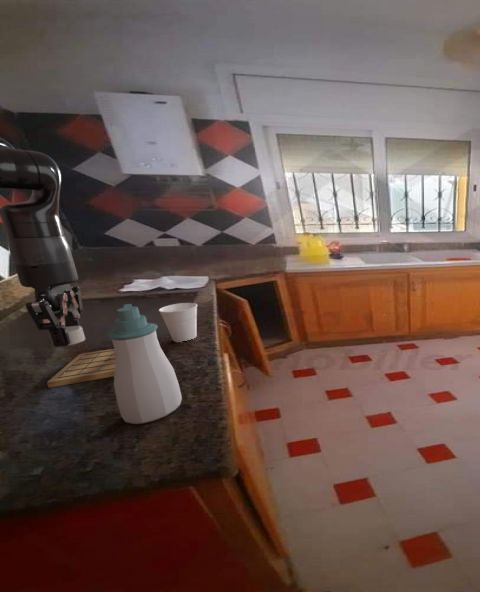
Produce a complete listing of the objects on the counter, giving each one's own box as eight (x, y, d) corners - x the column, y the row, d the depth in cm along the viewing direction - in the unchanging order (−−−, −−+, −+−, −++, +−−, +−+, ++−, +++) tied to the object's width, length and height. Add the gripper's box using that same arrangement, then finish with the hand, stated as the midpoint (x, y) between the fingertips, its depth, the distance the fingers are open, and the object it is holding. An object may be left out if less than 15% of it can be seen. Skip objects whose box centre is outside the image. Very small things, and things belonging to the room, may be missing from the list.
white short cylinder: (47, 348, 63) (43, 335, 62) (60, 339, 67) (56, 327, 66) (79, 344, 65) (75, 331, 64) (89, 336, 69) (86, 324, 68)
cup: (171, 335, 105) (164, 304, 102) (206, 331, 109) (200, 301, 106) (161, 347, 97) (153, 313, 94) (199, 342, 100) (193, 309, 97)
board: (48, 388, 75) (46, 381, 74) (81, 358, 89) (79, 353, 89) (140, 371, 82) (139, 366, 82) (157, 347, 97) (156, 342, 96)
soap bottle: (179, 392, 73) (158, 298, 67) (185, 412, 66) (162, 309, 60) (122, 409, 67) (93, 308, 61) (122, 433, 60) (89, 321, 54)
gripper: (38, 255, 66) (62, 331, 70) (-12, 267, 53) (21, 358, 58) (87, 254, 69) (107, 326, 74) (50, 264, 57) (77, 351, 61)
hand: (69, 340), depth 66 cm, fingers closed on white short cylinder, 4 cm apart
